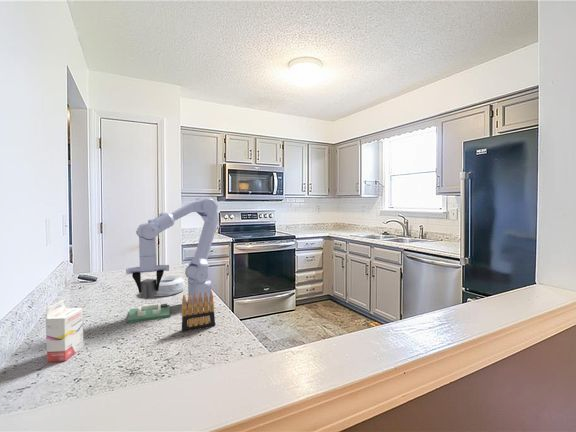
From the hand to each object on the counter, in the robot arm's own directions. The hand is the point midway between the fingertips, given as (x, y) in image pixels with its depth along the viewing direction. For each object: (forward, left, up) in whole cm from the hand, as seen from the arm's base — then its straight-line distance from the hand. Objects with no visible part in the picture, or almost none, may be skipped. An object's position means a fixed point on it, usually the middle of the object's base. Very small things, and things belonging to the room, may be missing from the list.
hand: (149, 291), depth 114 cm
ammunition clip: (-16, +20, -9) cm, 27 cm away
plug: (0, 0, -2) cm, 2 cm away
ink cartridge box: (+20, +24, -9) cm, 33 cm away
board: (0, 0, -9) cm, 9 cm away
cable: (-6, -30, -9) cm, 32 cm away
